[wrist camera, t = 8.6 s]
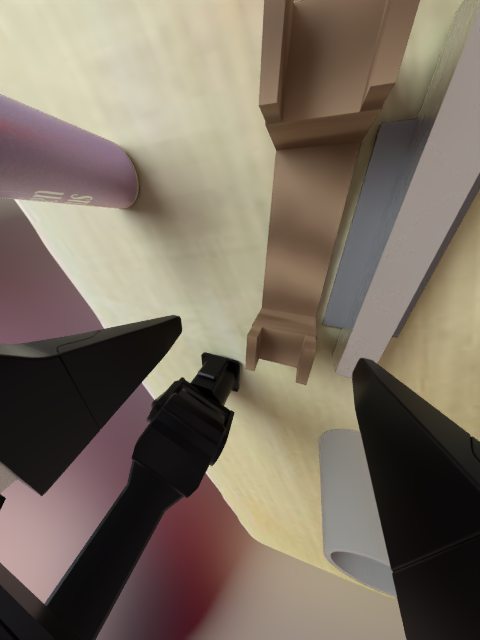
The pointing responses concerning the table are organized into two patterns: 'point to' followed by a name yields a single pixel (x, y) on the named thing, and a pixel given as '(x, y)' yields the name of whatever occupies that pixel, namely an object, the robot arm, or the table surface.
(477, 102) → the rail
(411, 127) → the mat
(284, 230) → the rack
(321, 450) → the cup
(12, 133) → the beverage can
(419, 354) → the table surface
